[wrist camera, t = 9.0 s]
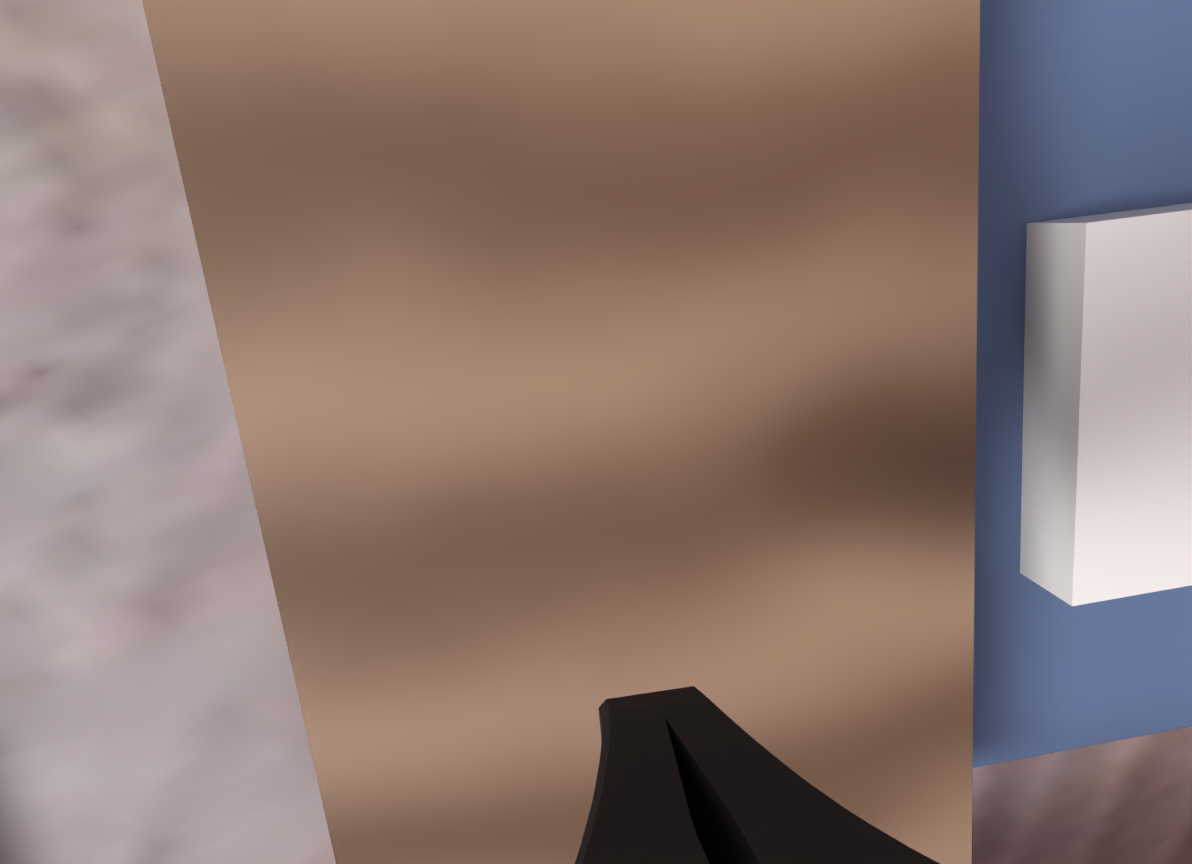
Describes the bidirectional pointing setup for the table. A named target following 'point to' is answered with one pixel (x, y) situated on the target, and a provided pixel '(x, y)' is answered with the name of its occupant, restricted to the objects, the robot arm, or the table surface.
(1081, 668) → the mat
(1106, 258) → the tile
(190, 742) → the table surface
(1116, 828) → the table surface
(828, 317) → the stand
